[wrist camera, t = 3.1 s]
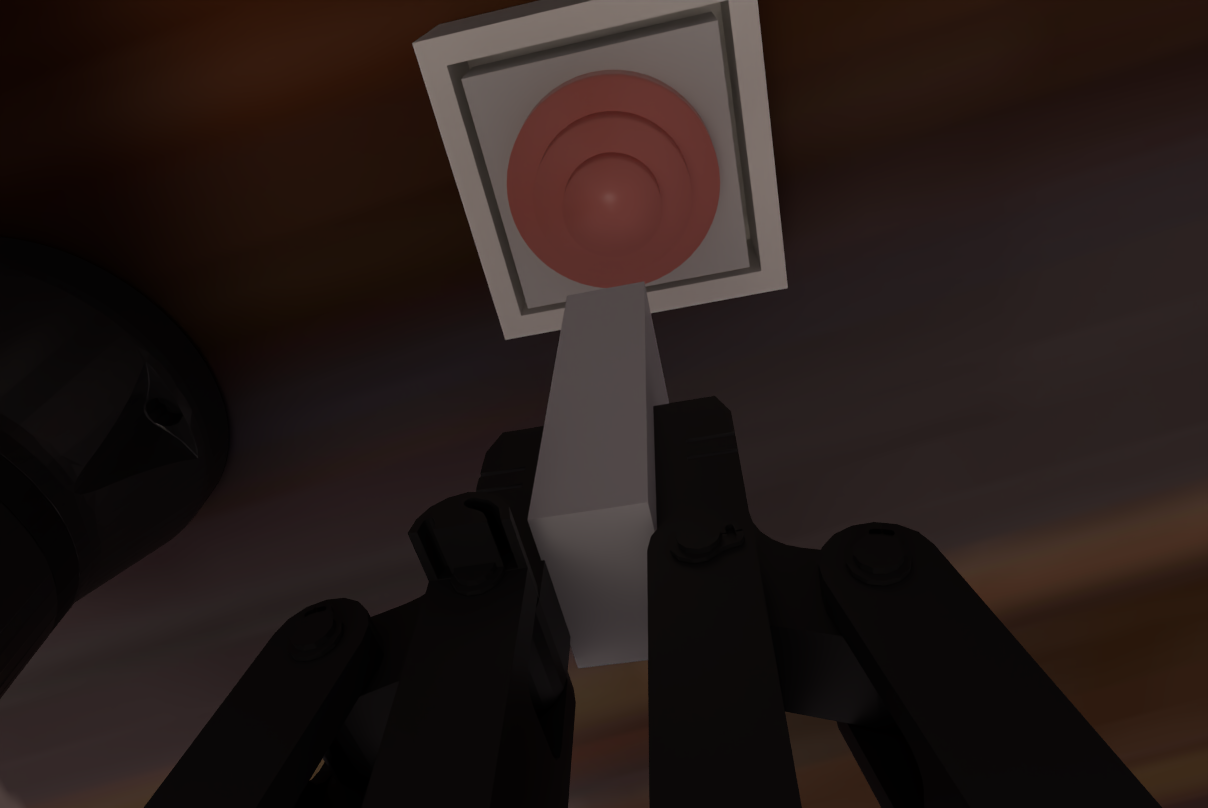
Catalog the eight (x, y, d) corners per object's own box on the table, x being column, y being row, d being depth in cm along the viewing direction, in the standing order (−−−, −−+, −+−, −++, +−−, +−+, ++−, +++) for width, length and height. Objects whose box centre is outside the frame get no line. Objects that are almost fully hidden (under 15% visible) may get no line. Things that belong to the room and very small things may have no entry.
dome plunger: (742, 244, 29) (762, 305, 24) (533, 285, 30) (517, 350, 25) (711, 11, 25) (728, 36, 20) (472, 66, 26) (440, 101, 22)
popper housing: (770, 245, 31) (787, 288, 28) (518, 293, 32) (505, 339, 29) (737, -48, 26) (753, -38, 23) (439, 24, 27) (412, 43, 24)
